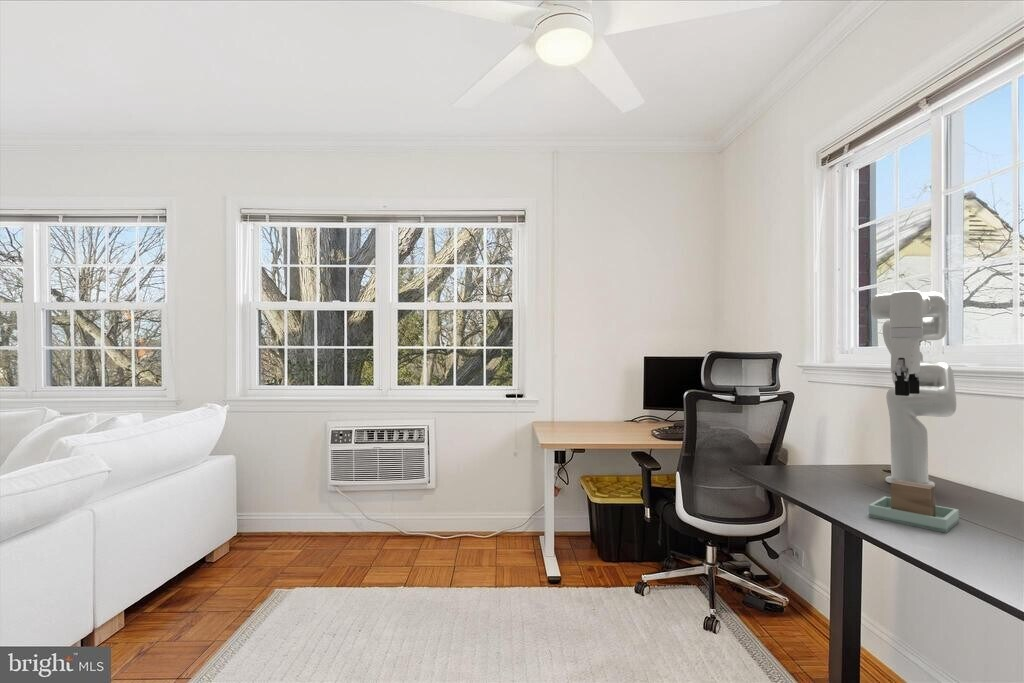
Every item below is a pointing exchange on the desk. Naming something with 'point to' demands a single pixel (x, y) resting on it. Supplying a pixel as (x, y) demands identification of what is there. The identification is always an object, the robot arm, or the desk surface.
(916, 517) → the tray
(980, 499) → the desk surface
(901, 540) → the desk surface
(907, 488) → the walnut block
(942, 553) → the desk surface
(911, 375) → the robot arm
